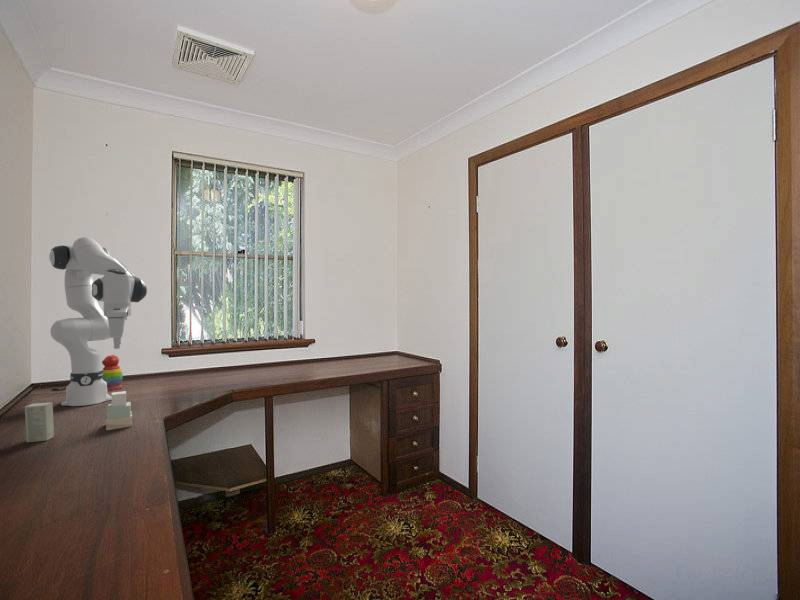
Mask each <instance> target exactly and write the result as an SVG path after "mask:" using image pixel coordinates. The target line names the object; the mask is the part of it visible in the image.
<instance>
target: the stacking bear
mask: <svg viewBox="0 0 800 600" xmlns="http://www.w3.org/2000/svg"><path fill="white" fill-rule="evenodd" d="M101 361H102V366H104V367H102V370H103V378H102V379H103V380H104V381H105V382H107V390H108V392H110V390H112V391H118V390H121V389H123V385H122V381H123V378H124V377H123V371H122V370H123V369H122V368H121V367H120V366H119V363H120V358H119V356H118V355H115V354H112V355H107V356H106V357H104V359H102V360H101ZM120 388H121V389H120ZM117 389H118V390H117Z"/></svg>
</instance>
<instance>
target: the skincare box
mask: <svg viewBox="0 0 800 600" xmlns="http://www.w3.org/2000/svg"><path fill="white" fill-rule="evenodd" d="M24 415H25V418H24V419H25V434H26V435H25V436H26V438H25V439H26V443H33V442H44V441H49V440H50V439H52V438H53V437H55V428H54V426H55V425H54V421H55V420H54V406H53V402H52V401H51V402H39V403H38V402H35V403H30V404H29V405H26V406H24Z"/></svg>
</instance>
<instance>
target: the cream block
mask: <svg viewBox="0 0 800 600" xmlns="http://www.w3.org/2000/svg"><path fill="white" fill-rule="evenodd" d="M111 397H112V400H111V404H112V407H117V406H125V405H126V402H127V391H126V390H123V391H116V392H115V391H114V392H111Z"/></svg>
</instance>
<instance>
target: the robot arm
mask: <svg viewBox="0 0 800 600" xmlns="http://www.w3.org/2000/svg"><path fill="white" fill-rule="evenodd" d="M48 256H49V257H48V258H49V262H50V264H51V266H52V267H53V268H54V269H57V270H65V272H64V292H65V297H66V298H65V299H66V305H67V307H68V308H69V309H71V310H73V311H75V312H77V313H79V314H80V315H82V317H70V318H63V319H59V320H56V321H55V322H54V323H52V325H51V327H50V331H49V332H50V335H51V338H52V339H53V341H55V342H56V343H58V344H60V345H61V346H63V347H64V348H65V349H66V350H67V352H68V354H69V356H70V362H71V363H70V366H71V372H70V376H69V379H70V383H69V384H67V386H66V387H65V400H63V401H62V402H61V403H60V405H61V406H63V407H64V406H65V407H66V406H69V407H80V406H82V407H84V406H91V405H96V404H100V403H103V402H108V401H112V395H110V394H109V393H108V392H109V391H108V390H107V382H105V381H104V380H103V379H102V378H103V364H102V361H103V360H102V354H101V352H99V351H98V350H96V349H93V348H90V347H89V346H88V342H95V341H104V340H108V339H112V341H113V349H115V350H117V349H120V346H121V339H122V338H123V336H124V335H123V334H124V331H125V330H124V326H125V321H127V320H128V317H129V316H131V315H132V303H139V302H141V301H142V300H143V299H144V298H145V297H146V296H147V292H148V289H147V285H146V283H145V282H144V281H143V280H142V279H141V278H140V277H137V276H136V275H135V274H134V273H133V272H132V271H131V270H130V269H129V268H128V267H127V266H126V264H124V263H123V262H121V261H120V260H118V259H116V258H114V257H113V256H111V255H110V252H109V250H108V249H107V248H106V247H103V246H102V245H101V244H100V243H98V242H97V241H96V240H95V239H94V238H91V237H88V236H87V237H79V238H76V240H74V242H73V244H72V245H57V246H54V247H53V248H51V249H50V252H49V255H48ZM93 275H99V276H102V277H101V278H97V279H96V280H94V278H93V277H94V276H93ZM99 302H103V309H102V308H101V306H100V304H99Z"/></svg>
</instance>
